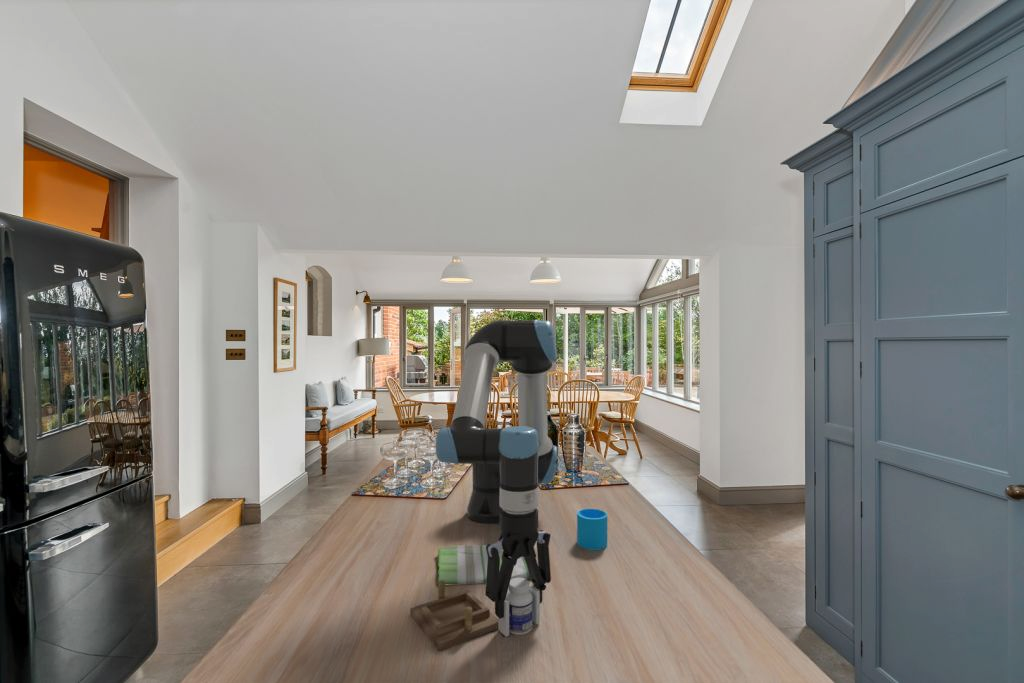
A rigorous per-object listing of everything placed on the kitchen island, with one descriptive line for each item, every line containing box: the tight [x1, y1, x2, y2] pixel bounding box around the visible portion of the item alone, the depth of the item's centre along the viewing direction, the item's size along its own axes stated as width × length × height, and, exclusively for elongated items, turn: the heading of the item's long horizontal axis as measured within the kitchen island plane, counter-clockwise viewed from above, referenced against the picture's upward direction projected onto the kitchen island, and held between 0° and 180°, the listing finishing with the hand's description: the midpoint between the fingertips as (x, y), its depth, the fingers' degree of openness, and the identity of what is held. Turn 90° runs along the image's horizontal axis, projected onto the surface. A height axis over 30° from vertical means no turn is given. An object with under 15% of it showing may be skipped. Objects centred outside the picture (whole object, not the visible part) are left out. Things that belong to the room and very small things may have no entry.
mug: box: [576, 508, 608, 551], centre depth 135 cm, size 12×8×8 cm
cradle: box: [409, 580, 498, 652], centre depth 97 cm, size 14×13×5 cm
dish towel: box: [437, 543, 531, 585], centre depth 120 cm, size 17×23×4 cm
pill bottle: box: [506, 578, 534, 636], centre depth 95 cm, size 5×5×9 cm
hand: (519, 626), depth 95 cm, fingers open, 6 cm apart
